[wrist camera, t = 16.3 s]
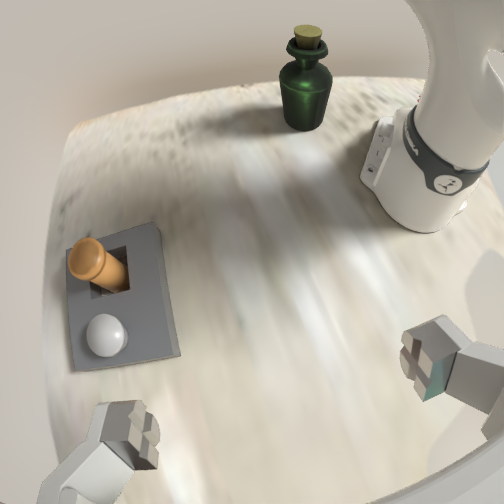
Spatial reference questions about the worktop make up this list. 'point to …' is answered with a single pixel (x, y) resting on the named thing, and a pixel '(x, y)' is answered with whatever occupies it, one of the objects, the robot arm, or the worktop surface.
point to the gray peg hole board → (124, 308)
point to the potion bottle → (305, 79)
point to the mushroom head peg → (97, 266)
